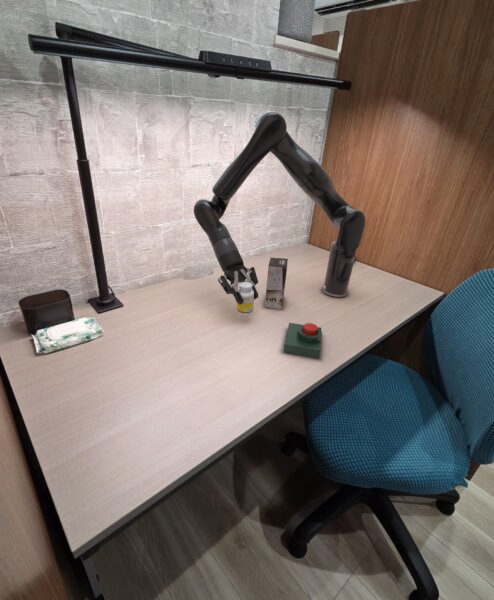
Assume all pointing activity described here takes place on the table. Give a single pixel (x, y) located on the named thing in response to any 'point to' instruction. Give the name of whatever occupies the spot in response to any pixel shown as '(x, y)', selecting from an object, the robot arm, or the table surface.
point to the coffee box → (276, 282)
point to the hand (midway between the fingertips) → (249, 300)
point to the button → (310, 329)
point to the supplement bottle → (246, 298)
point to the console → (302, 342)
